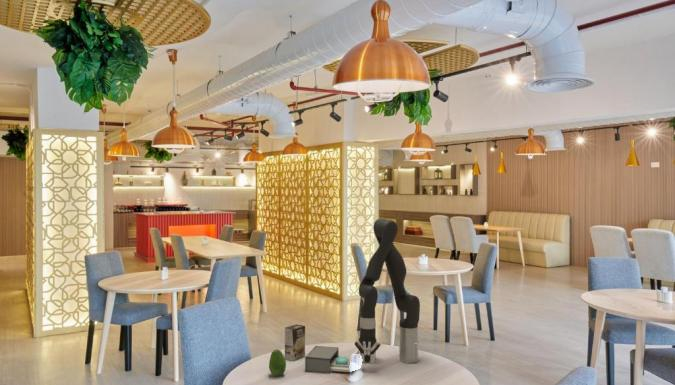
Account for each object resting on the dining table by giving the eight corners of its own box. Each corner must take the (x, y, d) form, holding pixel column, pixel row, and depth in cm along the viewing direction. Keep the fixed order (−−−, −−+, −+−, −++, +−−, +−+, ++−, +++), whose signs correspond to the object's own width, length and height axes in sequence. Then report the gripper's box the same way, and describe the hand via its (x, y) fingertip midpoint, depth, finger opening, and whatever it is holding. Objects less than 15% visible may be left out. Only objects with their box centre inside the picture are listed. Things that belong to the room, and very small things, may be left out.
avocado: (270, 372, 251) (270, 347, 251) (286, 372, 251) (286, 347, 251) (267, 378, 243) (267, 352, 243) (284, 378, 243) (284, 352, 243)
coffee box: (293, 361, 267) (293, 329, 266) (284, 359, 270) (284, 327, 270) (305, 356, 274) (305, 325, 274) (296, 354, 278) (296, 323, 278)
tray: (358, 361, 264) (358, 349, 264) (351, 373, 247) (351, 360, 247) (335, 359, 267) (335, 347, 267) (326, 371, 250) (326, 358, 250)
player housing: (338, 361, 267) (338, 347, 267) (329, 373, 249) (329, 358, 249) (315, 359, 270) (315, 345, 270) (305, 371, 252) (305, 356, 252)
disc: (349, 361, 260) (349, 357, 259) (346, 366, 254) (346, 361, 254) (337, 361, 261) (337, 356, 261) (334, 365, 255) (334, 360, 255)
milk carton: (373, 363, 264) (373, 325, 264) (359, 362, 266) (359, 324, 265) (375, 358, 271) (375, 321, 271) (361, 357, 273) (361, 320, 272)
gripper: (352, 327, 252) (352, 363, 252) (380, 329, 249) (379, 366, 249) (355, 323, 259) (355, 358, 259) (382, 325, 256) (382, 361, 256)
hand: (367, 362), depth 254 cm, fingers closed
